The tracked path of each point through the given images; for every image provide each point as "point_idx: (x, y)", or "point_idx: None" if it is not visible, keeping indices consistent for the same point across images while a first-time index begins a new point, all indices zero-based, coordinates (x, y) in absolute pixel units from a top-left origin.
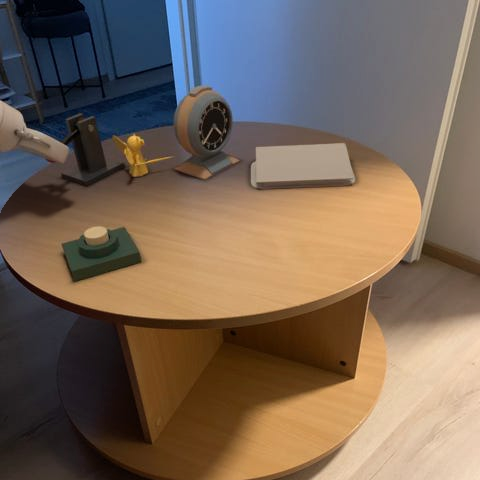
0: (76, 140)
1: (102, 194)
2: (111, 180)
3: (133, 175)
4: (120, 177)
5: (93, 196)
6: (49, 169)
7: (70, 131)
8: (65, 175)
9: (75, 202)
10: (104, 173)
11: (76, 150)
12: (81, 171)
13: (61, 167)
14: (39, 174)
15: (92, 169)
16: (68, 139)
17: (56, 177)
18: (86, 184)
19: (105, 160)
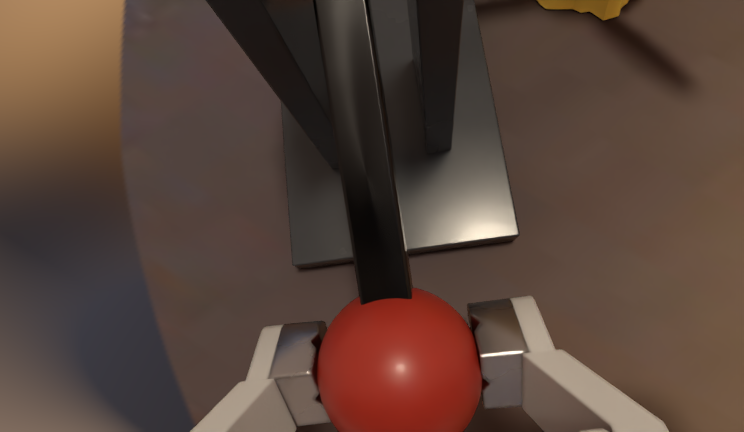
0: (305, 59)
1: (681, 241)
2: (553, 115)
3: (611, 12)
4: (559, 65)
5: (664, 289)
6: (155, 254)
7: (265, 33)
8: (333, 261)
9: (654, 404)
10: (494, 105)
11: (325, 116)
12: None
13: (189, 200)
14: (159, 323)
15: (451, 138)
16: (388, 137)
17: (269, 285)
18: (514, 238)
19: None
